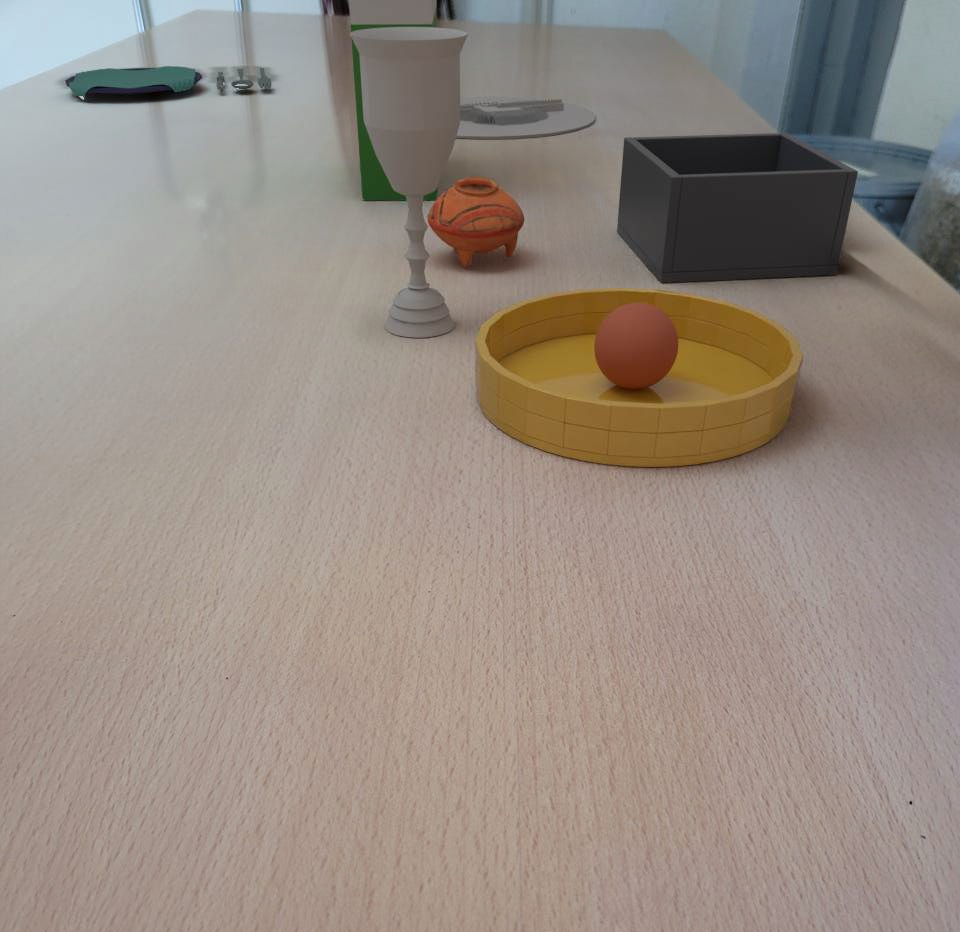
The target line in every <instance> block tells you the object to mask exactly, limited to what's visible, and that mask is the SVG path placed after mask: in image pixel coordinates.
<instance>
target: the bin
mask: <svg viewBox="0 0 960 932" xmlns="http://www.w3.org/2000/svg"><path fill="white" fill-rule="evenodd" d="M621 161H622V162H621V175H620V184H619V185H620V187H619V200H618V212H617V225H616V232H617V234H618V235H619V236H620V237H621V238H622V240H623V241H624V242H625V243H626V244H627V245H628V246H629V248H630V249H631V250H632V251H633V252H634V254H635V255H636V256H637V257H638V258H639V260H641V262H642V264H644V265H645V266H646V267H647V269H648V270H649V271H650V272H651V274H652V275H653V276H654V277H655V278H656V279H657V280H658V281H659V283H661V284H667V283H670V284H671V283H688V282H689V283H691V282H713V281H716V282H717V281H734V280H735V281H736V280H755V279H757V280H758V279H759V280H760V279H779V278H800V277H801V276H805V277H822V276H821V275H827V276H836V275H837V273H838V269H839V264H840V259H841V255H842V250H843V244H844V241H845V235H846V231H847V225H848V222H849V216H850V211H851V207H852V203H853V197H854V192H855V188H856V184H857V179H858V174H859V171H858V170H857V169H855V168H852V167H851V166H849V165H847V164H845V163H844V162H842V161H839V160H838V159H836V158H834V157H832V156H830V155H828V154H827V153H825V152H823V151H821V150H819V149H817V148H815V147H814V146H812V145H810V144H808V143H806V142H804V141H802V140H801V139H799V138H797V137H795V136H793V135H791V134H789V133H787V132H780V133H779V132H778V133H777V132H772V133H769V132H768V133H738V134H737V133H735V134H705V135H703V134H702V135H701V134H699V135H698V134H697V135H668V136H666V135H665V136H637V137H636V136H634V137H633V136H631V137H630V136H629V137H624V138H623V149H622V160H621ZM835 274H836V275H835ZM818 275H820V276H818ZM801 278H802V277H801Z"/></svg>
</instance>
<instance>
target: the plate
mask: <svg viewBox="0 0 960 932" xmlns="http://www.w3.org/2000/svg"><path fill="white" fill-rule="evenodd" d="M595 121H596V115H595V113H594V111H592V110H590V109H588V108H586V107H583V106H580V105H577V104H572V103H567V102H563V99H562V98H557V99H555V98H553V99H552V98H551V99H549V98H548V99H538V98H537V99H536V98H525V97H510V96H509V97H505V96H469V97H460V125H459V129H458V132H457V136H456V139H467V140H468V139H469V140H514V139H515V140H517V139H531V138H532V139H533V138H543V137H551V136H557V135H563V134H568V133H572V132H576V131H580V130H582V129H584V128H587V127H590V126H591V125H593V124H594V123H595Z"/></svg>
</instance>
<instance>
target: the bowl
mask: <svg viewBox="0 0 960 932" xmlns="http://www.w3.org/2000/svg"><path fill="white" fill-rule="evenodd" d="M630 303H646V304H650V305H653V306H655V307H657V308H659V309H660V310H662V311H663V312H664V313H665V314H666V315H667V316H668V317H669V318H670V319H671V321H672V322H673V324H674V326H675V329H676V332H677V336H678V353H677V357H676V360H675V362H674V364H673V366H672V368H671V370H670V371H669V372H668V374H667V375H666V376H665V377H664V378H663V379H661V380H660V381H659V382H657V383H656V384H654V385H652V386H649V387H647V388H642V389H626V388H623V387H620V386H617V385H616V384H614V383H612V382H611V381H610V380H608V379H607V378H606V377H605V376H604V374H603V373H602V372H601V370H600V369H599V366H598V364H597V362H596V358H595V352H594V344H595V338H596V334H597V331H598V329H599V327H600V325H601V323H602V322H603V321H604V319H605V318H606V317H607V316H608V315H609V314H610V313H611V312H612V311H614V310H615V309H617V308H619V307H621V306H623V305H626V304H630ZM474 345H475V346H474V347H475V348H474V349H475V350H474V351H475V353H474V354H475V356H474V357H475V358H474V359H475V361H474V362H475V363H474V365H475V369H474V371H475V372H474V375H475V381H474V382H475V389H476V398H477V403H478V406H479V408H480V410H481V412H482V413H483V415H484V416H485V417H486V419H488V421H489V422H490V423H491V424H493V425H494V426H495V427H496V428H497V429H498V430H500V431H502V432H503V433H505V434H506V435H508V436H509V437H511V438H513V439H515V440H518V441H519V442H520V443H521V442H522V443H523V444H525V445H528V446H530V447H533V448H534V449H535V448H536V449H538V450H541V451H543V452H547V453H550V454H554V455H557V456H561V457H565V458H568V459H574V460H577V461H578V460H579V461H582V462H589V463H595V464H602V465H608V466H609V465H610V466H620V467H621V466H622V467H637V468H638V467H639V468H667V467H668V468H669V467H683V466H693V465H701V464H707V463H713V462H718V461H722V460H726V459H730V458H734V457H737V456H740V455H743V454H746V453H748V452H751V451H754V450H755V449H758V448H760V447H762V446H763V445H766V444H767V443H769V442H770V441H772V440H773V439H775V438H776V437H777V436H778V435H779V434H780V433H781V432H782V431H783V430H784V429H785V428H786V426H787V424H788V422H789V420H790V417H791V413H792V408H793V406H794V403H795V399H796V395H797V390H798V386H799V385H798V384H799V379H800V375H801V370H802V366H803V360H804V354H803V352H802V348H801V345H800V343H799V340H798V338H796V337H795V335H793V334H792V333H791V332H790V331H789V330H788V329H787V328H786V327H785V326H784V325H783V324H781V323H780V322H777V321H775V320H773V318H770V317H768V316H766V315H765V314H763V313H761V312H758V311H755V310H754V309H750V308H747V307H745V306H741V305H738V304H735V303H733V302H730V301H727V300H722V299H718V298H713V297H708V296H703V295H699V294H694V293H688V292H682V291H672V290H664V289H655V288H634V287H610V288H609V287H607V288H585V289H582V288H581V289H576V290H568V291H561V292H555V293H548V294H545V295H541V296H536V297H533V298H529V299H526V300H522V301H518V302H516V303H514V304H512V305H510V306H508V307H506V308H503V309H501V310H499V311H497V312H495V313H494V314H493V315H491V316H490V317H489V318H488V319H487V320H486V321H485V322H484V323H482V324H481V325H480V327H479V330H478V332H477V335H476V338H475V341H474Z"/></svg>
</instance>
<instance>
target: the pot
mask: <svg viewBox="0 0 960 932" xmlns="http://www.w3.org/2000/svg"><path fill="white" fill-rule="evenodd" d="M427 223H428V227H430V229H431V230H432V232H433V233H434V234H435V236H437V237H438V238H439V239H440V240H441V241H442V242H443V243H445V244H446V245H447V246H449V247H450V248H452V249H453V250H454V252H457V256H458V259H459V262H460V264H461V267H462V268H470V266H471V264H472V259H473V255H474V254H485V253H489V252H490V253H491V252H492V251H495V250H497V249H501V248H502V247H504V248H505V253H506V257H507V258H511V257H512V256H513V255H514V254H515V251H516V247H517V244H518V239H519V238H518V237H519V232H520V230H521V229H522V228H523V226H524V224H525V216H524V212H523V210H522V208H521V206H520V205H519V204H518V202H517V201H516V200H515V199H514V197H512V196H511V195H510V194H509V193H508V192H507V191H505V190H504V189H502V188H500V185H499V184H497V183H496V182H495V181H493V179H491V178H489V177H481V176H480V177H479V176H470V177H464V178H463V179H457V180H456V181H454V182H453V186H451V187H449V188H448V189H446V190H445V191H443V192H442V194H441V195H439V197H437V200H434V201H433V204H432V206H431V207H430V209H429V211H428V213H427Z"/></svg>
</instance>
